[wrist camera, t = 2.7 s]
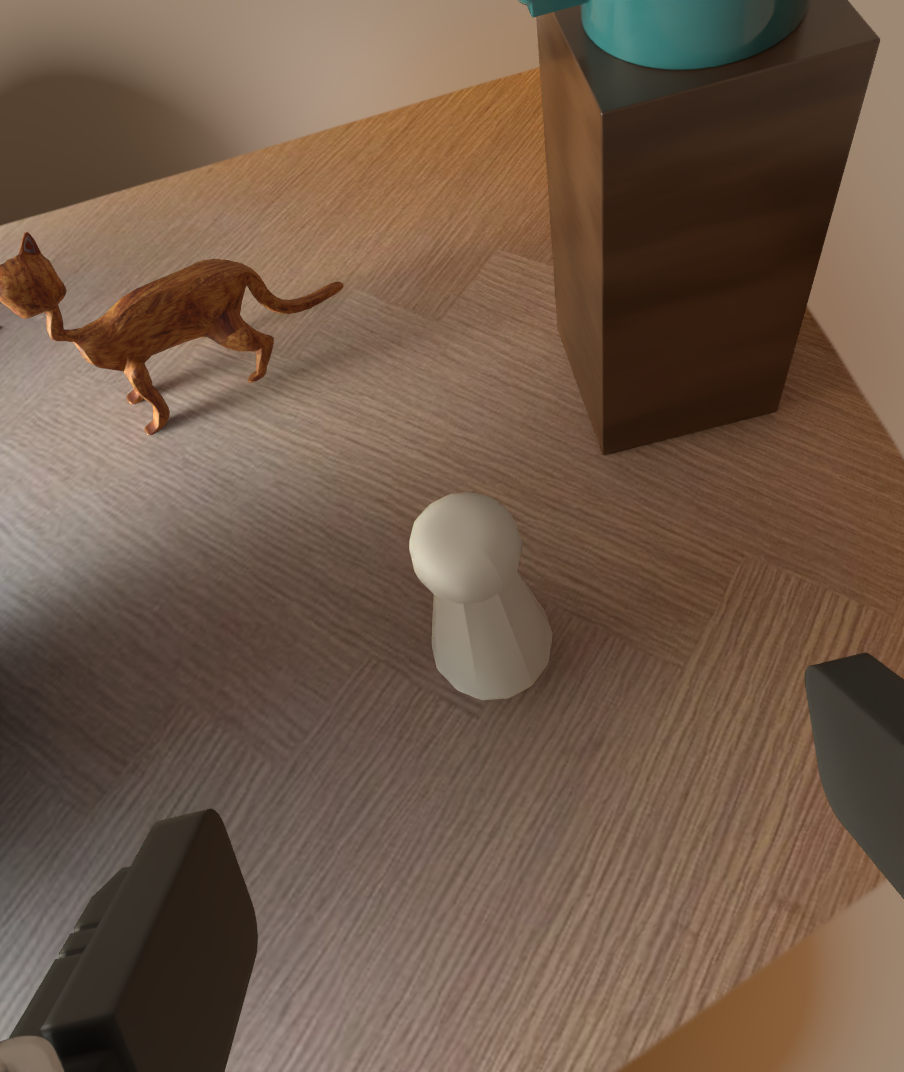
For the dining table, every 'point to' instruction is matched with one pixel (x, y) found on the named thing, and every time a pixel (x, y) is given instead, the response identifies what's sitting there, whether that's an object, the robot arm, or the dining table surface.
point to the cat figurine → (153, 316)
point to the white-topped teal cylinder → (682, 28)
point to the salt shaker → (479, 597)
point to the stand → (692, 217)
